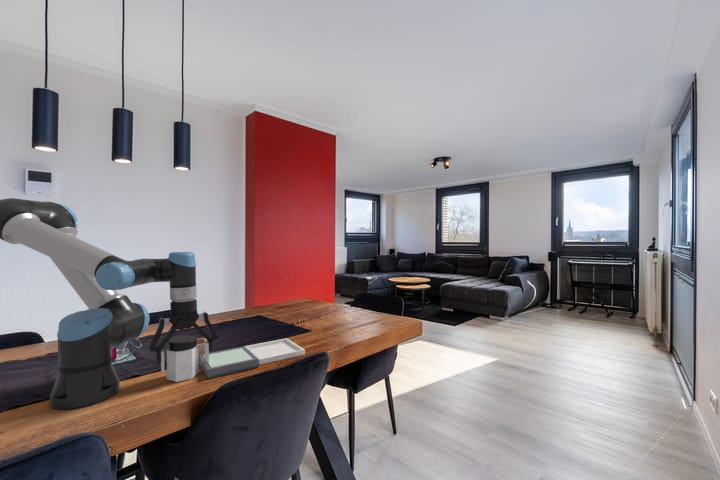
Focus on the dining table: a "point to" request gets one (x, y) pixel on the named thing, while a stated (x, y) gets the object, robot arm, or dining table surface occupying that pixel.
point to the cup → (201, 345)
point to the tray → (275, 350)
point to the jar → (182, 358)
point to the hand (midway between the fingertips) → (185, 366)
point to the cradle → (227, 368)
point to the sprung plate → (227, 357)
